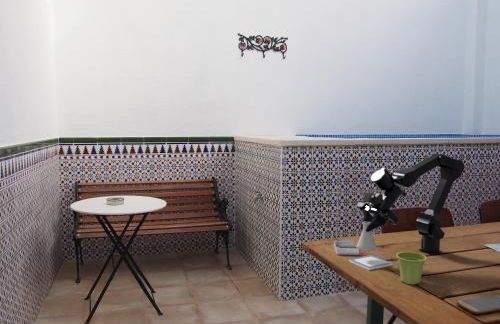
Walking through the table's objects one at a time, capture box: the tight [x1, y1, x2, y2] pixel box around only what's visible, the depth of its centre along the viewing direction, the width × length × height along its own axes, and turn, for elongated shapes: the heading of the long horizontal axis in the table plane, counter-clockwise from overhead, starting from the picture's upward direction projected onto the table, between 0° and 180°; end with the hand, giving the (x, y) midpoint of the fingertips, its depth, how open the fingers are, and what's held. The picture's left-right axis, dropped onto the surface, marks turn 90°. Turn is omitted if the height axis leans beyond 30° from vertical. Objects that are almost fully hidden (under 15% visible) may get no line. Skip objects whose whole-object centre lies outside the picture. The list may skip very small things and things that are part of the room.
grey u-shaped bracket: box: [333, 240, 360, 256], centre depth 189 cm, size 8×11×3 cm
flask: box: [355, 221, 378, 252], centre depth 174 cm, size 7×7×10 cm
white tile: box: [348, 254, 393, 271], centre depth 173 cm, size 11×11×1 cm
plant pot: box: [396, 251, 427, 285], centre depth 154 cm, size 9×9×9 cm
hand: (363, 230), depth 173 cm, fingers closed on flask, 3 cm apart
